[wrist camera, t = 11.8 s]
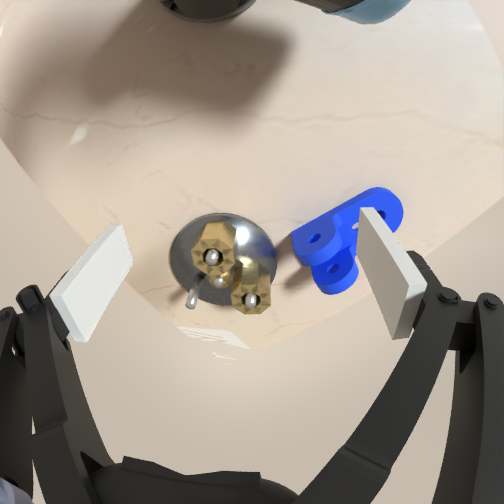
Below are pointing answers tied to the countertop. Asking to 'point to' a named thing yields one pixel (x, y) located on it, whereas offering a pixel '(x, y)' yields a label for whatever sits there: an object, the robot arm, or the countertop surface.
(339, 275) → the bracket
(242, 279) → the carrier
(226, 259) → the octagonal wooden tube
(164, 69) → the countertop surface
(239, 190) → the countertop surface
